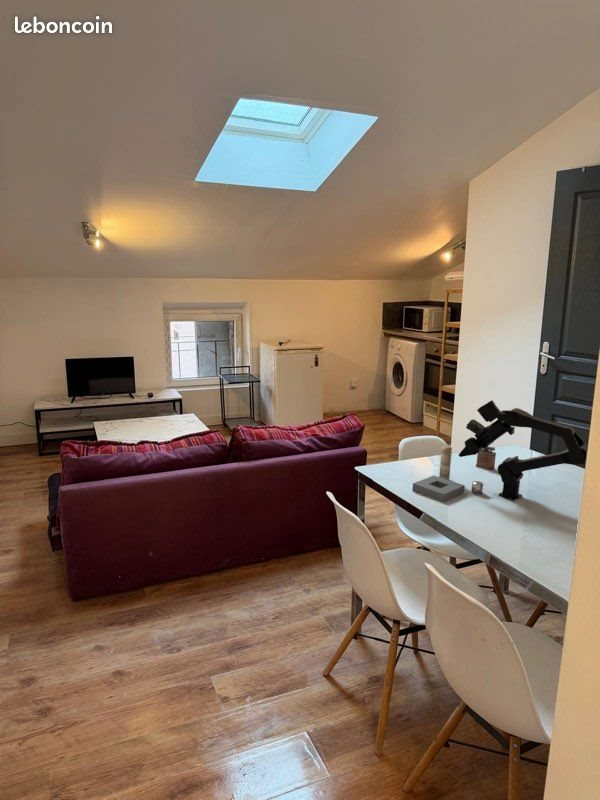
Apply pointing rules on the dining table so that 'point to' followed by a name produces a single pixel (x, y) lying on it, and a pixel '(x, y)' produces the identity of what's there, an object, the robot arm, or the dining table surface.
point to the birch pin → (445, 462)
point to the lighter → (486, 458)
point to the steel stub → (477, 487)
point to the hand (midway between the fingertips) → (463, 453)
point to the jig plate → (438, 488)
